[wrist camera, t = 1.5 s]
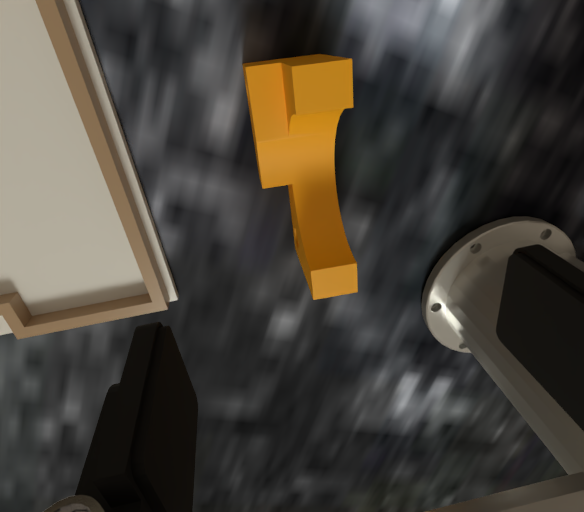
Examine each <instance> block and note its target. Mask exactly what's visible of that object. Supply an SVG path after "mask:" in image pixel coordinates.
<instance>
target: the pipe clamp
mask: <svg viewBox="0 0 584 512" xmlns="http://www.w3.org/2000/svg"><path fill="white" fill-rule="evenodd" d="M242 65H243V71H244V78H245V85H246V91H247V98H248V104H249V111H250V118H251V124H252V131H253V138H254V144H255V151H256V158H257V164H258V171H259V177H260V181H261V184H262V188H263V189H264V188H270V187H277V186H283V185H288V189H289V197H290V206H291V215H292V224H293V233H294V241H295V249H296V252H297V255H298V258H299V260H300V263H301V266H302V269H303V272H304V274H305V277H306V280H307V283H308V286H309V289H310V291H311V294H312V297H313V300H316V299H321V298H327V297H333V296H338V295H344V294H349V293H355V292H358V288H357V262H356V261H355V259H354V257H353V255H352V252H351V250H350V247H349V245H348V242H347V239H346V235H345V232H344V228H343V224H342V220H341V215H340V210H339V205H338V198H337V191H336V181H335V165H334V150H335V136H336V129H337V124H338V120H339V117H340V115H341V113H342V111H343V110H344V109H346V108H353V77H352V59H349V58H343V57H336V56H330V55H323V54H315V55H307V56H299V57H291V58H283V59H275V60H267V61H260V62H252V63H244V64H242Z"/></svg>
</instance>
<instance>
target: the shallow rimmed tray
mask: <svg viewBox="0 0 584 512" xmlns="http://www.w3.org/2000/svg"><path fill="white" fill-rule="evenodd" d="M178 296H179V294H178V292H177V289H176V286H175V283H174V280H173V277H172V274H171V271H170V268H169V265H168V262H167V259H166V256H165V253H164V250H163V248H162V245H161V242H160V239H159V236H158V233H157V230H156V227H155V224H154V221H153V218H152V215H151V212H150V209H149V206H148V204H147V201H146V198H145V195H144V192H143V189H142V186H141V183H140V180H139V177H138V174H137V171H136V168H135V165H134V162H133V160H132V157H131V154H130V151H129V148H128V145H127V142H126V139H125V136H124V133H123V130H122V127H121V124H120V121H119V118H118V116H117V113H116V110H115V107H114V104H113V101H112V98H111V95H110V92H109V89H108V86H107V83H106V80H105V77H104V74H103V72H102V69H101V66H100V63H99V60H98V57H97V54H96V51H95V48H94V45H93V42H92V39H91V36H90V33H89V30H88V28H87V25H86V22H85V19H84V16H83V13H82V10H81V7H80V4H79V1H78V0H0V335H3V334H8V333H14V335H15V336H16V338H17V339H21V338H26V337H31V336H37V335H42V334H47V333H52V332H57V331H62V330H67V329H72V328H77V327H82V326H87V325H92V324H97V323H102V322H107V321H112V320H117V319H122V318H127V317H132V316H137V315H142V314H147V313H152V312H157V311H162V310H167V309H168V306H169V302H170V301H175V300H178Z"/></svg>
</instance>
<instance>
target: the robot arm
mask: <svg viewBox="0 0 584 512" xmlns="http://www.w3.org/2000/svg"><path fill="white" fill-rule="evenodd" d="M421 307H422V314H423V318H424V321H425V323H426V326H427V327H428V329H429V330H430V331H431V333H432V334H433V336H434V337H435V338H436V339H437V340H438V341H439V342H440V343H441V344H443V345H444V346H446V347H448V348H450V349H453V350H456V351H459V352H467V353H472V354H473V355H474V356H475V358H476V359H477V360H478V361H479V363H480V364H481V365H482V366H483V368H484V369H485V370H486V371H487V373H488V374H489V375H490V376H491V378H492V379H493V380H494V381H495V383H496V384H497V385H498V387H499V388H500V389H501V390H502V392H503V393H504V394H505V395H506V397H507V398H508V399H509V400H510V402H511V403H512V404H513V405H514V407H515V408H516V409H517V410H518V412H519V413H520V414H521V415H522V417H523V418H524V419H525V420H526V422H527V423H528V424H529V425H530V427H531V428H532V429H533V430H534V432H535V433H536V434H537V435H538V437H539V438H540V439H541V440H542V442H543V443H544V444H545V445H546V447H547V448H548V449H549V451H550V452H551V453H552V454H553V456H554V457H555V458H556V459H557V461H558V462H559V463H560V464H561V466H562V467H563V468H564V469H565V471H566V472H567V473H568V474H569V475H567V476H563V477H559V478H555V479H551V480H547V481H543V482H539V483H535V484H531V485H527V486H523V487H519V488H515V489H511V490H508V491H504V492H500V493H496V494H492V495H488V496H484V497H480V498H476V499H472V500H468V501H464V502H461V503H457V504H453V505H449V506H445V507H441V508H437V509H433V510H429V511H425V512H584V262H582V261H581V260H579V259H577V258H576V252H575V249H574V246H573V244H572V241H571V240H570V239H569V237H568V236H567V235H566V234H565V233H564V232H563V231H562V230H560V229H559V228H557V227H556V226H554V225H552V224H550V223H548V222H546V221H544V220H542V219H538V218H533V217H529V216H523V217H509V218H504V219H499V220H496V221H493V222H491V223H488V224H485V225H483V226H481V227H479V228H477V229H475V230H474V231H472V232H470V233H468V234H467V235H466V236H464V237H463V238H462V239H460V240H459V241H458V242H456V243H455V244H454V245H453V246H452V247H451V248H450V249H449V250H448V251H447V252H446V253H445V254H444V255H443V256H442V257H441V259H440V260H439V261H438V263H437V264H436V265H435V267H434V268H433V270H432V272H431V274H430V276H429V277H428V279H427V281H426V285H425V288H424V291H423V295H422V305H421ZM197 416H198V403H197V397H196V394H195V391H194V389H193V386H192V383H191V381H190V378H189V375H188V373H187V370H186V367H185V365H184V362H183V360H182V357H181V354H180V352H179V349H178V346H177V344H176V341H175V338H174V336H173V333H172V330H171V328H170V327H169V326H165V327H163V326H162V324H161V323H160V322H156V323H151V324H147V325H142V326H138V327H136V329H135V332H134V336H133V339H132V343H131V346H130V350H129V353H128V357H127V360H126V364H125V367H124V371H123V374H122V378H121V381H120V383H118V384H114V385H112V386H111V387H110V388H109V390H108V392H107V395H106V398H105V401H104V404H103V407H102V411H101V414H100V417H99V420H98V423H97V427H96V430H95V433H94V436H93V439H92V442H91V446H90V449H89V452H88V455H87V458H86V462H85V465H84V468H83V471H82V474H81V478H80V481H79V484H78V487H77V490H76V494H75V496H70V497H67V498H65V499H63V500H60V501H58V502H56V503H55V504H53V505H52V506H50V507H49V508H48V509H46V510H45V511H43V512H192V506H193V488H194V470H195V452H196V434H197Z"/></svg>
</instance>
